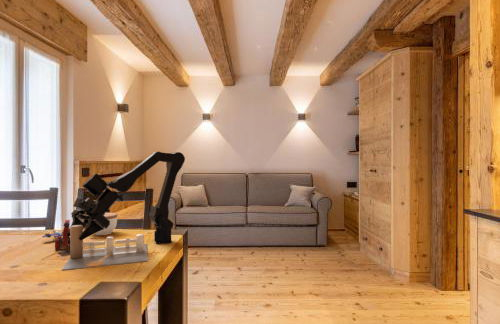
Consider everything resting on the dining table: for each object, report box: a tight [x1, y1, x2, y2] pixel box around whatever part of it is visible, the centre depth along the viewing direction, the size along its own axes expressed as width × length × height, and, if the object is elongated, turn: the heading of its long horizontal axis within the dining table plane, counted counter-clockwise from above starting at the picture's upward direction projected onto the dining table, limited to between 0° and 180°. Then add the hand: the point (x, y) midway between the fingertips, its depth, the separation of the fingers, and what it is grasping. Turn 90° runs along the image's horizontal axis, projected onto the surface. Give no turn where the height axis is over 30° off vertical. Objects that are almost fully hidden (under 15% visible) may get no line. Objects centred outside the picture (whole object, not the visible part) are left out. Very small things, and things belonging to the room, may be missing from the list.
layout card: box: [61, 243, 149, 271], centre depth 115 cm, size 26×24×1 cm
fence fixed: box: [106, 233, 145, 255], centre depth 118 cm, size 13×3×6 cm, turn 109°
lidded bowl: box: [94, 212, 118, 236], centre depth 152 cm, size 13×13×11 cm
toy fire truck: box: [54, 219, 71, 250], centre depth 128 cm, size 7×12×10 cm, turn 26°
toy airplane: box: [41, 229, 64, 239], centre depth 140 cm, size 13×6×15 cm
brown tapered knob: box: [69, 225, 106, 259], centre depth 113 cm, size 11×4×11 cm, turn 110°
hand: (73, 237), depth 111 cm, fingers open, 9 cm apart
